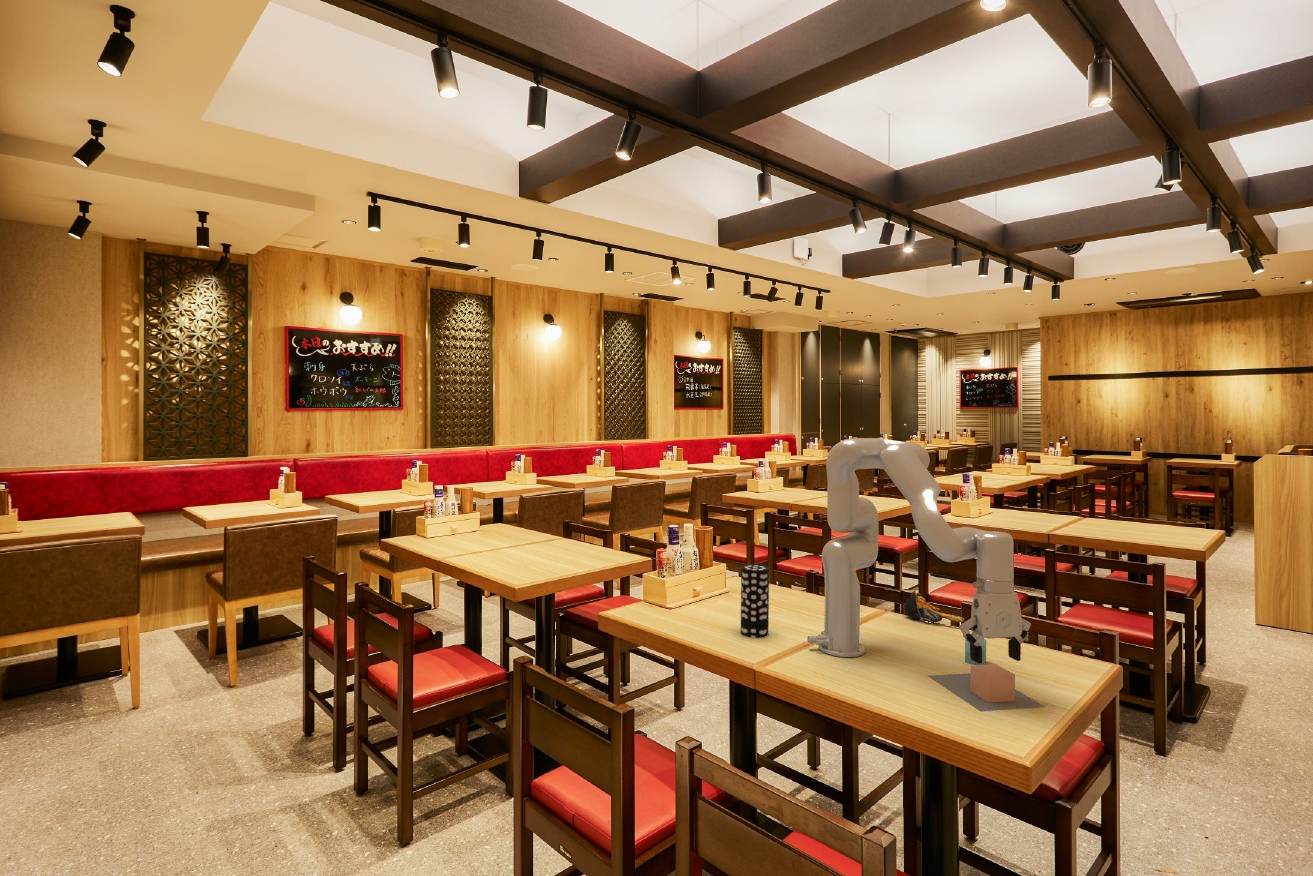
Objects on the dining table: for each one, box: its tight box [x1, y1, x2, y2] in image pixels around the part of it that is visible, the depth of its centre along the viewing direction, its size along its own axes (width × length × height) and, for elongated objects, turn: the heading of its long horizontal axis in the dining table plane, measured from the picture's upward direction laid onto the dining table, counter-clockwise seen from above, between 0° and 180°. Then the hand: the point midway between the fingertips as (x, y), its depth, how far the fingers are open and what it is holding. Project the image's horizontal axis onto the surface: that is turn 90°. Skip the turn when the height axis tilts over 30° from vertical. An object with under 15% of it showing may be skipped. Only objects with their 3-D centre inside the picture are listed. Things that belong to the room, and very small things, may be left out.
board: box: [928, 672, 1046, 712], centre depth 152 cm, size 16×20×1 cm
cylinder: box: [964, 636, 987, 665], centre depth 170 cm, size 5×5×7 cm
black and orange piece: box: [902, 592, 965, 623], centre depth 208 cm, size 9×11×18 cm
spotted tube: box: [740, 564, 770, 639], centre depth 195 cm, size 8×8×20 cm
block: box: [970, 663, 1016, 703], centre depth 149 cm, size 6×6×6 cm
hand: (995, 660), depth 148 cm, fingers open, 9 cm apart
